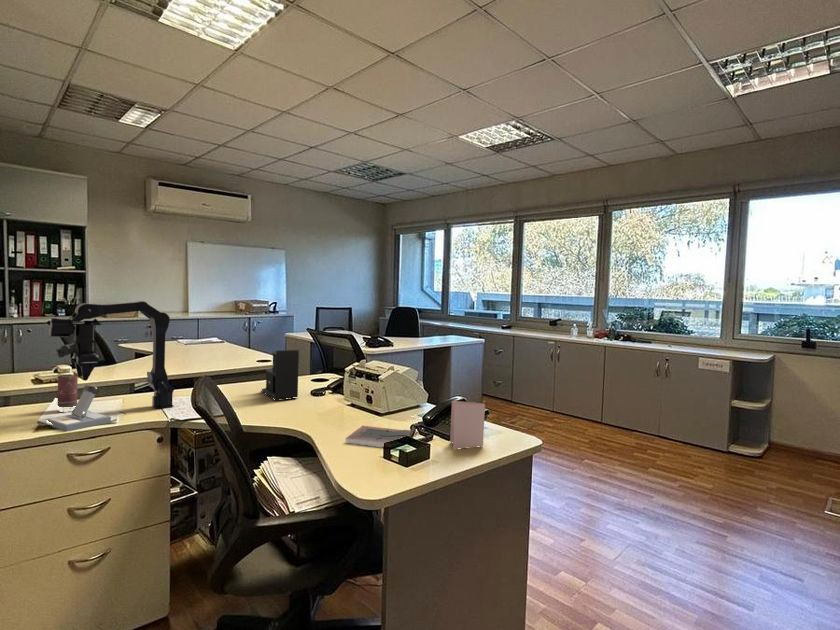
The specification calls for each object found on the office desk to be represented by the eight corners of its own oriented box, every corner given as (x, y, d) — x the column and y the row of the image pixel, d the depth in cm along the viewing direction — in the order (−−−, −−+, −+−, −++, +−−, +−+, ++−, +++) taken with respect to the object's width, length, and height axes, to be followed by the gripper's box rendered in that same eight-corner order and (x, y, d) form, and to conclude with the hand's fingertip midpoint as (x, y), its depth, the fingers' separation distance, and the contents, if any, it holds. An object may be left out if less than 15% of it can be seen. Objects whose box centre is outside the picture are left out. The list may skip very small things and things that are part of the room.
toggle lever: (76, 416, 164) (91, 386, 168) (85, 418, 162) (100, 388, 166) (69, 414, 162) (85, 384, 166) (78, 417, 160) (93, 386, 164)
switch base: (89, 416, 172) (89, 410, 172) (110, 422, 166) (110, 416, 166) (45, 424, 160) (45, 418, 159) (66, 431, 153) (66, 424, 153)
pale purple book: (418, 437, 165) (362, 431, 170) (418, 431, 165) (362, 424, 169) (407, 452, 149) (345, 444, 153) (407, 444, 149) (345, 437, 153)
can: (81, 409, 181) (82, 374, 181) (67, 413, 175) (68, 377, 175) (67, 408, 182) (68, 373, 182) (53, 412, 176) (53, 376, 175)
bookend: (260, 391, 227) (261, 345, 226) (281, 390, 233) (283, 344, 232) (275, 401, 208) (276, 350, 207) (298, 399, 214) (299, 350, 213)
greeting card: (483, 446, 156) (485, 403, 156) (481, 453, 149) (483, 408, 148) (450, 442, 159) (452, 400, 158) (446, 449, 152) (448, 404, 151)
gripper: (52, 334, 170) (50, 376, 170) (61, 339, 157) (59, 384, 157) (89, 334, 178) (87, 374, 178) (100, 339, 165) (98, 381, 166)
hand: (82, 378), depth 170 cm, fingers open, 9 cm apart
